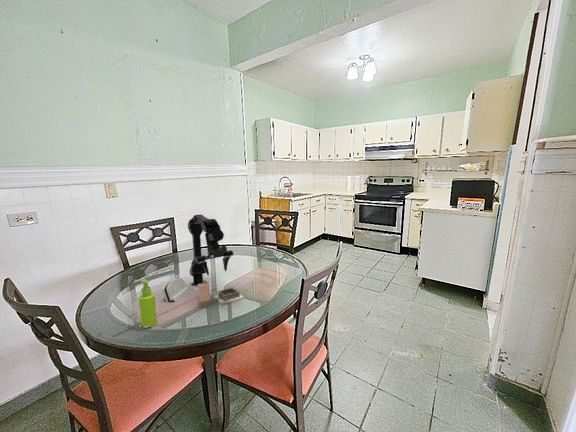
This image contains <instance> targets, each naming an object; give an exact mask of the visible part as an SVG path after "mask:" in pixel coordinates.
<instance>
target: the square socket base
mask: <svg viewBox="0 0 576 432" xmlns="http://www.w3.org/2000/svg"><path fill="white" fill-rule="evenodd" d="M217 293H218V294H216V295H214V296H213V298H214V299H215V300H216V301H217V302H218V303H219V304H220V305H221V306H225V305H228V304H231V303H234V302H235V303H236V302H238V301H241V300H244V299H245V296H244V295H242V294H241V293H240V291H238V290H237V289H235V288H234V287H229V288H226V289H222V290H220V291H217Z"/></svg>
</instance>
